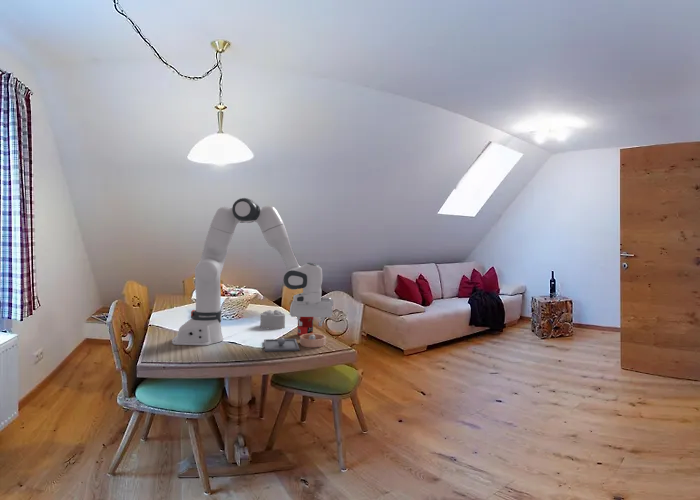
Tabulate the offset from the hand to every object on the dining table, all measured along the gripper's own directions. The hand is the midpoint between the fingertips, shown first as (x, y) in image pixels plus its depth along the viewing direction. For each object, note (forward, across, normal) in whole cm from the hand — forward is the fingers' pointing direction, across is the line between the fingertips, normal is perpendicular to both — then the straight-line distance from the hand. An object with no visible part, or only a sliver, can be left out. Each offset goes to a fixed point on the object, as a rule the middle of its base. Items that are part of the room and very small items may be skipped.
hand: (310, 325), depth 198 cm
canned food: (+8, 0, -15) cm, 17 cm away
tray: (+8, +14, +5) cm, 17 cm away
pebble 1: (+6, +14, +5) cm, 16 cm away
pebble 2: (+6, -1, +1) cm, 6 cm away
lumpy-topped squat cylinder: (+9, +16, -34) cm, 38 cm away
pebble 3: (+6, 0, +5) cm, 7 cm away
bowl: (+8, -1, +2) cm, 9 cm away
